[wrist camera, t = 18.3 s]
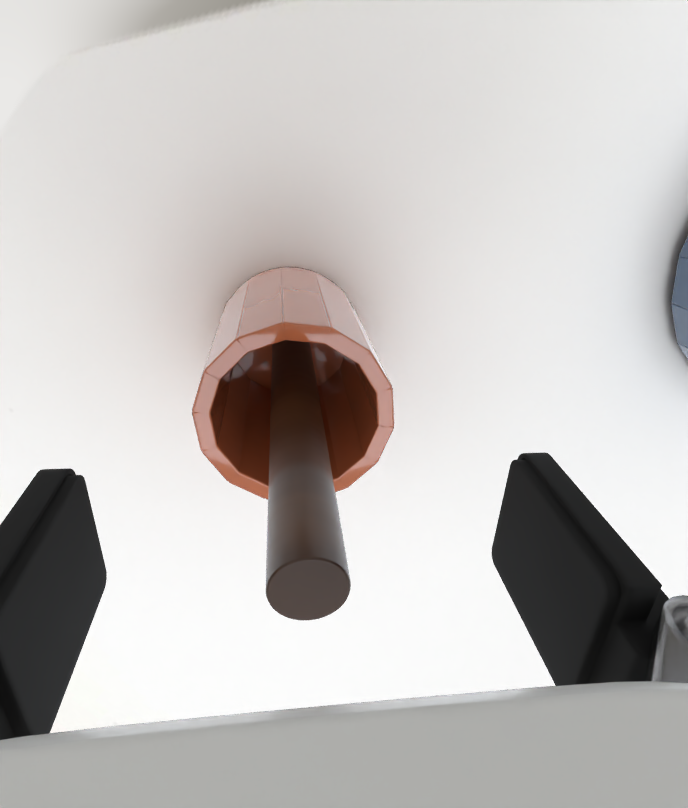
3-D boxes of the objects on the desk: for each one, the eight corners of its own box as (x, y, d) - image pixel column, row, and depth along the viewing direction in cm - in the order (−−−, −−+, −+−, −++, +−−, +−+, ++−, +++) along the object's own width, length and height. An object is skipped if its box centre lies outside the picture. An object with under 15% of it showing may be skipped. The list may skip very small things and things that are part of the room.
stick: (264, 342, 25) (247, 596, 11) (289, 316, 25) (307, 543, 10) (291, 365, 26) (310, 633, 11) (316, 340, 25) (368, 586, 11)
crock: (190, 337, 25) (149, 425, 17) (290, 234, 24) (296, 277, 15) (290, 421, 28) (295, 532, 20) (386, 334, 26) (434, 415, 18)
